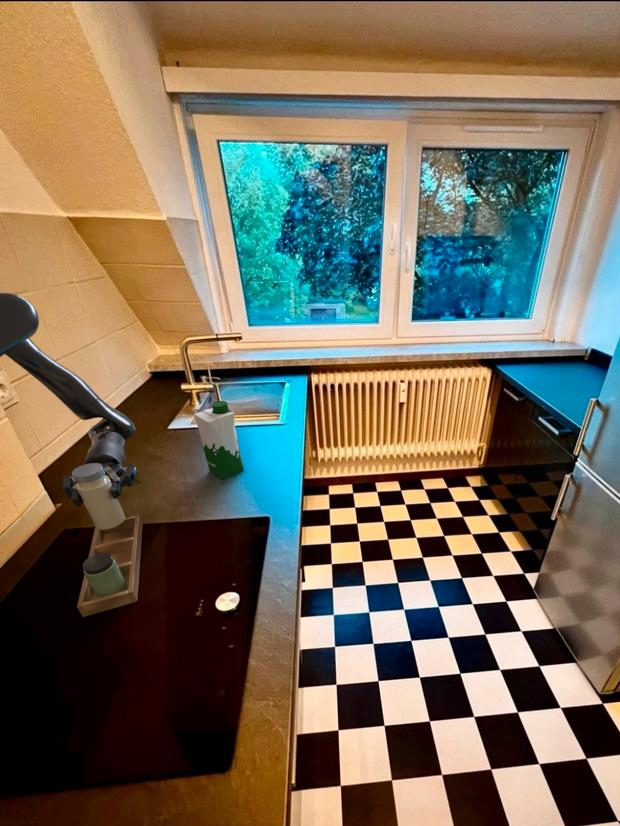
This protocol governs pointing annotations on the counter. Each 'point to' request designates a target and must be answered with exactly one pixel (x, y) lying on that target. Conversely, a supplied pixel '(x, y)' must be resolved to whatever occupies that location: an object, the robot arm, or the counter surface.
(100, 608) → the jar stand
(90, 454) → the robot arm
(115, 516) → the jar
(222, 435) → the milk carton
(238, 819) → the counter surface
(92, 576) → the spice jar
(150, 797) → the counter surface
